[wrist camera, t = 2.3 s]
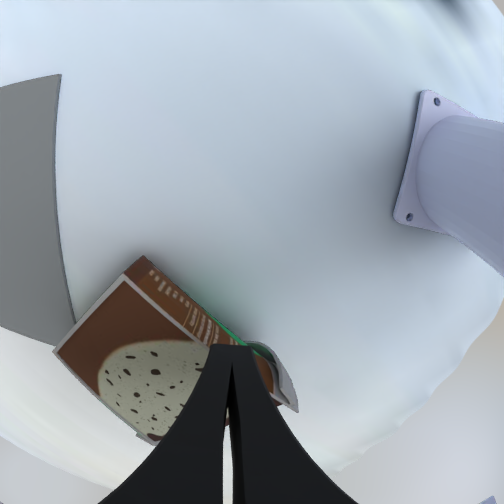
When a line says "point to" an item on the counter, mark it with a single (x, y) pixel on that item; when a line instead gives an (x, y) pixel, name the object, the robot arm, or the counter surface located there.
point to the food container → (153, 351)
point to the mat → (31, 214)
